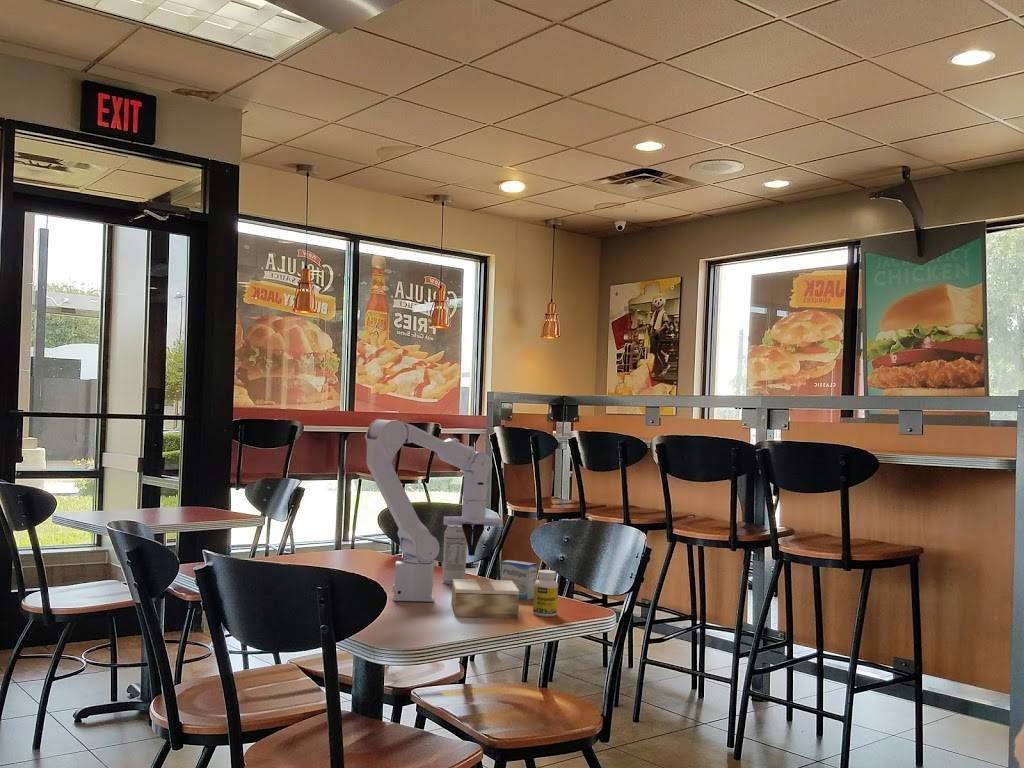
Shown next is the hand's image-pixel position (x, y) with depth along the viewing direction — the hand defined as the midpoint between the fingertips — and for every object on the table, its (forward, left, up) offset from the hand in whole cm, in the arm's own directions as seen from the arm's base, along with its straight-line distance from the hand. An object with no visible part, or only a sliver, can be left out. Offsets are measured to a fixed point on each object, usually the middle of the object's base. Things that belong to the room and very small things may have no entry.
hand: (471, 555), depth 233 cm
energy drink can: (-3, +17, -10) cm, 20 cm away
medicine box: (+12, 0, -10) cm, 16 cm away
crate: (+2, -18, -10) cm, 21 cm away
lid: (+2, -18, -5) cm, 19 cm away
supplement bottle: (+16, -20, -10) cm, 27 cm away
